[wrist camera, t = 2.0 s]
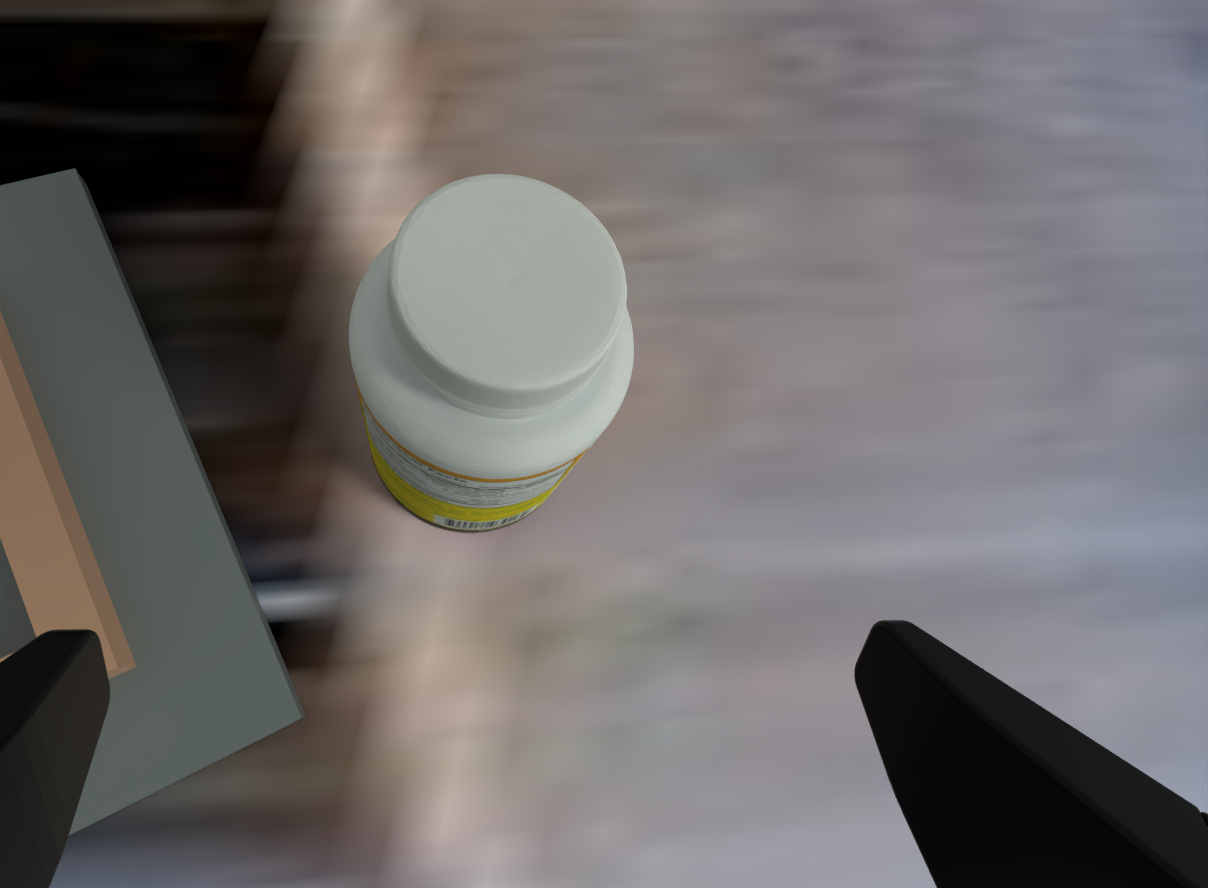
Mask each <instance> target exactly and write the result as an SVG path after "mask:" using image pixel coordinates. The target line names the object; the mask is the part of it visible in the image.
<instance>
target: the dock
mask: <svg viewBox="0 0 1208 888" xmlns="http://www.w3.org/2000/svg"><path fill="white" fill-rule="evenodd" d="M58 629H89V630H92V631H94V632H96V633H97V635H98V636H99V639H100V642H101V646H102V651H103V656H104V660H105V665H106V669H107V674H108V679H109V683H110V702H109V707H108V711H107V714H106V717H105V721H104V724H103V727H102V730H101V733H100V737H99V740H98V743H97V746H96V749H95V753H94V756H93V759H92V762H91V765H90V769H89V772H88V775H87V778H86V781H85V785H84V788H83V791H82V794H81V797H80V801H79V804H78V807H77V810H76V813H75V817H74V820H73V823H72V826H71V829H70V833H69V835H71V834H73V833H75V832H77V831H79V830H81V829H83V828H85V827H87V826H89V825H91V824H93V823H95V822H97V821H99V820H101V819H103V818H105V817H107V816H109V815H111V814H113V813H115V812H117V811H119V810H121V809H123V808H125V807H127V806H129V805H131V804H133V803H135V802H137V801H139V800H141V799H143V798H145V797H147V796H149V795H151V794H152V793H154V792H156V791H158V790H160V789H162V788H164V787H166V786H168V785H170V784H172V783H174V782H176V781H178V780H180V779H182V778H184V777H186V776H188V775H190V774H192V773H194V772H196V771H198V770H200V769H202V768H204V767H206V766H208V765H210V764H212V763H214V762H216V761H218V760H220V759H222V758H224V757H226V756H228V755H230V754H232V753H234V752H236V751H238V750H240V749H242V748H244V747H246V746H248V745H250V744H252V743H254V742H256V741H258V740H260V739H262V738H264V737H266V736H268V735H270V734H272V733H274V732H276V731H278V730H280V729H282V728H284V727H286V726H288V725H290V724H292V723H293V722H295V721H297V720H299V719H301V718H303V717H305V716H306V714H305V712H304V709H303V707H302V705H301V702H300V700H299V697H298V695H297V692H296V690H295V688H294V685H293V683H292V680H291V678H290V676H289V673H288V671H287V668H286V666H285V663H284V661H283V659H282V656H281V654H280V651H279V649H278V646H277V644H276V642H275V639H274V637H273V634H272V632H271V630H270V627H269V625H268V622H267V620H266V617H265V615H264V613H263V610H262V608H261V605H260V603H259V600H258V598H257V596H256V593H255V591H254V588H253V586H252V584H251V581H250V579H249V576H248V574H247V571H246V569H245V567H244V564H243V562H242V559H241V557H240V554H239V552H238V550H237V547H236V545H235V542H234V540H233V538H232V535H231V533H230V530H229V528H228V525H227V523H226V521H225V518H224V516H223V513H222V511H221V508H220V506H219V504H218V501H217V499H216V496H215V494H214V492H213V489H212V487H211V484H210V482H209V479H208V477H207V475H206V472H205V470H204V467H203V465H202V462H201V460H200V458H199V455H198V453H197V450H196V448H195V446H194V443H193V441H192V438H191V436H190V433H189V431H188V429H187V426H186V424H185V421H184V419H183V416H182V414H181V412H180V409H179V407H178V404H177V402H176V400H175V397H174V395H173V392H172V390H171V387H170V385H169V383H168V380H167V378H166V375H165V373H164V371H163V368H162V366H161V363H160V361H159V358H158V356H157V354H156V351H155V349H154V346H153V344H152V341H151V339H150V337H149V334H148V332H147V329H146V327H145V325H144V322H143V320H142V317H141V315H140V312H139V310H138V308H137V305H136V303H135V300H134V298H133V295H132V293H131V291H130V288H129V286H128V283H127V281H126V279H125V276H124V274H123V271H122V269H121V266H120V264H119V262H118V259H117V257H116V254H115V252H114V249H113V247H112V245H111V242H110V240H109V237H108V235H107V233H106V230H105V228H104V225H103V223H102V220H101V218H100V216H99V213H98V211H97V208H96V206H95V203H94V201H93V199H92V196H91V194H90V191H89V189H88V187H87V185H86V183H85V182H84V180H83V179H82V177H81V176H80V175H79V173H78V172H77V170H76V169H75V168H74V169H70V170H65V171H61V172H57V173H52V174H48V175H44V176H39V177H35V178H31V179H26V180H22V181H18V182H13V183H9V184H5V185H0V662H2V661H3V660H4V659H6V658H7V657H9V656H10V655H12V654H13V653H15V652H16V651H17V650H19V649H20V648H22V647H23V646H25V645H26V644H28V643H29V642H31V641H32V640H33V639H35V638H36V637H38V636H39V635H41V634H43V633H45V632H47V631H50V630H58Z"/></svg>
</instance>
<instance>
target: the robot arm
mask: <svg viewBox="0 0 1208 888" xmlns="http://www.w3.org/2000/svg"><path fill="white" fill-rule="evenodd" d="M855 683H856V686H857V689H858V692H859V695H860V698H861V701H862V704H863V707H864V709H865V712H866V715H867V718H868V721H869V724H870V727H871V729H872V732H873V735H874V738H875V741H876V744H877V747H878V750H879V752H880V755H881V758H882V761H883V764H884V767H885V770H886V772H887V775H888V778H889V781H890V783H891V786H892V789H893V791H894V794H895V796H896V799H897V801H898V803H899V806H900V808H901V810H902V813H903V815H904V817H905V819H906V821H907V824H908V826H909V828H910V830H911V832H912V834H913V837H914V839H915V841H916V843H917V845H918V848H919V850H920V852H921V854H922V856H923V858H924V861H925V863H926V865H927V867H928V869H929V872H930V874H931V876H932V878H933V880H934V882H935V885H936V887H937V888H1208V814H1207V813H1205V812H1200V811H1199V809H1198V808H1197V807H1196V806H1194V805H1193V804H1191V803H1190V802H1188V801H1187V800H1185V799H1184V798H1182V797H1180V796H1179V795H1177V794H1176V793H1174V792H1173V791H1171V790H1170V789H1168V788H1166V787H1165V786H1163V785H1162V784H1160V783H1159V782H1157V781H1156V780H1154V779H1153V778H1151V777H1149V776H1148V775H1146V774H1145V773H1143V772H1142V771H1140V770H1139V769H1137V768H1135V767H1134V766H1132V765H1131V764H1129V763H1128V762H1126V761H1125V760H1123V759H1122V758H1120V757H1118V756H1117V755H1115V754H1114V753H1112V752H1111V751H1109V750H1108V749H1106V748H1104V747H1103V746H1101V745H1100V744H1098V743H1097V742H1095V741H1094V740H1092V739H1091V738H1089V737H1087V736H1086V735H1084V734H1083V733H1081V732H1080V731H1078V730H1077V729H1075V728H1073V727H1072V726H1070V725H1069V724H1067V723H1066V722H1064V721H1063V720H1061V719H1060V718H1058V717H1056V716H1055V715H1053V714H1052V713H1050V712H1049V711H1047V710H1046V709H1044V708H1042V707H1041V706H1039V705H1038V704H1036V703H1035V702H1033V701H1032V700H1030V699H1029V698H1027V697H1025V696H1024V695H1022V694H1021V693H1019V692H1018V691H1016V690H1015V689H1013V688H1012V687H1010V686H1008V685H1007V684H1005V683H1004V682H1002V681H1001V680H999V679H998V678H996V677H994V676H993V675H991V674H990V673H988V672H987V671H985V670H984V669H982V668H981V667H979V666H977V665H976V664H974V663H973V662H971V661H970V660H968V659H967V658H965V657H964V656H962V655H960V654H959V653H957V652H956V651H954V650H953V649H951V648H950V647H948V646H946V645H945V644H943V643H942V642H940V641H939V640H937V639H936V638H934V637H933V636H931V635H929V634H928V633H926V632H925V631H923V630H922V629H920V628H919V627H917V626H916V625H914V624H912V623H911V622H908V621H904V620H883V621H879V622H877V623H876V624H875V625H873V627H872V628H871V630H870V633H869V635H868V637H867V640H866V642H865V644H864V646H863V649H862V651H861V653H860V656H859V658H858V660H857V662H856V665H855ZM109 702H110V683H109V679H108V674H107V669H106V665H105V660H104V656H103V651H102V646H101V642H100V639H99V636H98V635H97V633H96V632H94V631H92V630H89V629H58V630H50V631H47V632H45V633H43V634H41V635H39V636H38V637H36V638H35V639H33V640H32V641H31V642H29V643H28V644H26V645H25V646H23V647H22V648H20V649H19V650H17V651H16V652H15V653H13V654H12V655H10V656H9V657H7V658H6V659H4V660H3V661H2V662H0V888H49V886H50V883H51V881H52V879H53V876H54V874H55V871H56V869H57V866H58V864H59V861H60V859H61V856H62V853H63V850H64V847H65V844H66V842H67V839H68V836H69V833H70V829H71V826H72V823H73V820H74V817H75V813H76V810H77V807H78V804H79V801H80V797H81V794H82V791H83V788H84V785H85V781H86V778H87V775H88V772H89V769H90V765H91V762H92V759H93V756H94V753H95V749H96V746H97V743H98V740H99V737H100V733H101V730H102V727H103V724H104V721H105V717H106V714H107V711H108V707H109Z"/></svg>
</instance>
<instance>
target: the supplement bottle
mask: <svg viewBox="0 0 1208 888" xmlns="http://www.w3.org/2000/svg"><path fill="white" fill-rule="evenodd" d="M626 299H627V285H626V277H625V271H624V268H623V264H622V260H621V256H620V254H619V252H618V250H617V248H616V246H615V244H614V242H613V240H612V238H611V237H610V235H609V233H608V232H607V230H606V229H605V228H604V226H603V225H602V224H601V223H600V221H599V220H598V219H597V218H596V217H595V216H594V215H593V214H592V213H591V212H590V211H589V210H588V209H587V208H586V207H585V206H584V205H582V204H581V203H580V202H579V201H577V200H576V199H574V198H573V197H571V196H570V195H568V194H567V193H565V192H563V191H561V190H559V189H557V188H555V187H553V186H551V185H549V184H546V183H544V182H541V181H538V180H535V179H532V178H528V177H522V176H517V175H508V174H484V175H477V176H472V177H467V178H463V179H460V180H457V181H454V182H452V183H449V184H447V185H445V186H443V187H441V188H439V189H437V190H435V191H434V192H432V193H431V194H430V195H428V196H427V197H426V198H424V199H423V200H422V201H420V203H419V204H418V205H417V206H416V207H415V208H414V209H413V210H412V211H411V213H410V214H409V215H408V217H407V218H406V219H405V220H404V222H403V224H402V226H401V227H400V229H399V231H398V234H397V236H396V238H395V239H394V240H393V241H392V242H390V243H389V244H388V245H387V246H386V247H385V248H384V249H383V250H382V251H381V252H380V253H379V255H378V256H377V257H376V258H375V259H374V261H373V262H372V263H371V265H370V266H369V268H368V269H367V271H366V273H365V274H364V276H363V278H362V280H361V282H360V284H359V287H358V289H357V292H356V295H355V298H354V301H353V305H352V310H351V314H350V322H349V349H350V358H351V364H352V369H353V373H354V378H355V382H356V386H357V390H358V395H359V400H360V404H361V409H362V413H363V417H364V422H365V427H366V432H367V436H368V440H369V445H370V450H371V456H372V459H373V462H374V465H375V468H376V471H377V473H378V475H379V477H380V479H381V481H382V483H383V484H384V486H385V487H386V489H387V490H388V492H389V493H390V494H391V496H392V497H393V498H394V499H395V501H396V502H397V503H398V504H399V505H400V506H401V507H403V508H404V509H405V510H406V511H407V512H409V513H410V514H412V515H413V516H414V517H416V518H418V519H419V520H421V521H423V522H425V523H427V524H429V525H431V526H434V527H436V528H439V529H443V530H447V531H452V532H458V533H484V532H490V531H495V530H499V529H502V528H505V527H507V526H509V525H512V524H514V523H517V522H518V521H520V520H522V519H523V518H525V517H526V516H528V515H529V514H531V513H532V512H533V511H534V510H536V509H537V508H538V507H539V506H540V505H541V504H542V503H543V502H544V501H545V500H546V499H547V498H548V497H549V495H550V494H551V493H552V492H553V491H554V490H555V488H556V487H557V486H558V485H559V484H560V483H561V481H562V480H563V479H564V478H565V477H566V476H567V474H568V473H569V472H570V471H571V470H572V468H573V467H574V466H575V465H576V463H577V462H578V461H579V460H580V459H581V457H582V456H583V455H584V454H585V453H586V451H587V450H588V449H589V448H590V447H591V445H592V444H593V443H594V442H595V441H596V440H597V438H598V437H599V436H600V435H601V434H602V432H603V431H604V430H605V429H606V428H607V426H608V425H609V424H610V422H611V421H612V419H613V418H614V416H615V415H616V413H617V411H618V410H619V408H620V406H621V404H622V402H623V399H624V397H625V395H626V392H627V389H628V386H629V382H630V378H631V373H632V368H633V360H634V342H633V331H632V325H631V320H630V317H629V313H628V310H627V307H626Z"/></svg>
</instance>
